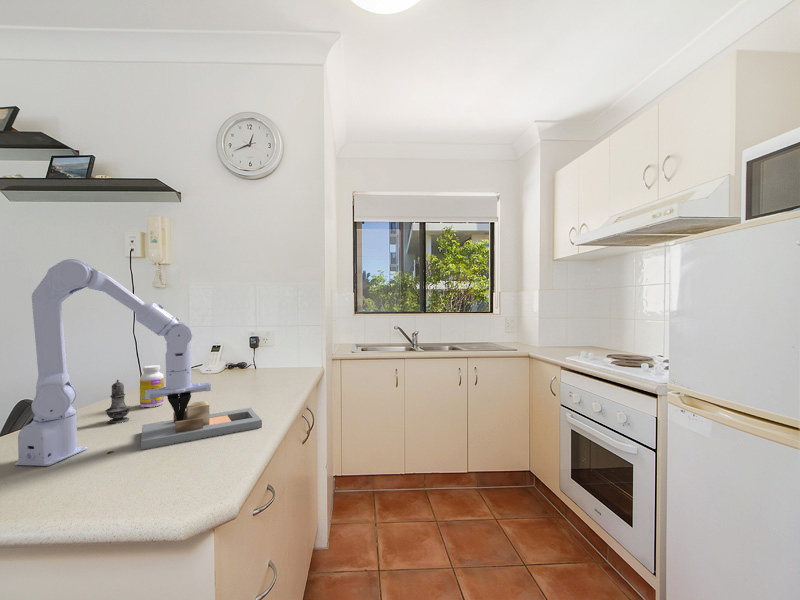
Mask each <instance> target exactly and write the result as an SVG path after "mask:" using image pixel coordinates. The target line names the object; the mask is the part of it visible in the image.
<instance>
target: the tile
mask: <svg viewBox="0 0 800 600" xmlns="http://www.w3.org/2000/svg"><path fill="white" fill-rule="evenodd" d="M209 419H210V424H208V425H213V424H219V423H225V422H230V421H231V420H230V418H229V417H228V416H227V415H225V416H219V417H213V418H209Z"/></svg>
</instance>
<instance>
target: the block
mask: <svg viewBox="0 0 800 600" xmlns="http://www.w3.org/2000/svg"><path fill="white" fill-rule="evenodd" d="M185 411H186V420H188V419H194V418H200V417H203V425H207V424H210V419H209V414H210V404H209V402H208V400H203V401H196V402H195V401H193V402H189V403H188V405H187V407H186V410H185Z"/></svg>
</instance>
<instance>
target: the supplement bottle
mask: <svg viewBox="0 0 800 600" xmlns="http://www.w3.org/2000/svg"><path fill="white" fill-rule="evenodd" d="M142 370H143V374H141V375H140V377H139V406H140V407H141V408H144V407H150V408H155V406H156V407H159V405H160V406H162V405H164V403H165V396H164V397H156V398H151V399H146V398H145V390H151V389H157V388H162V387H165V386H164V384H165V381H164V378H165V377H164V374H163V373H162V372H160V370H161V365H157V364H153V365H151V364H150V365H145V366H143V367H142Z"/></svg>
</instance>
